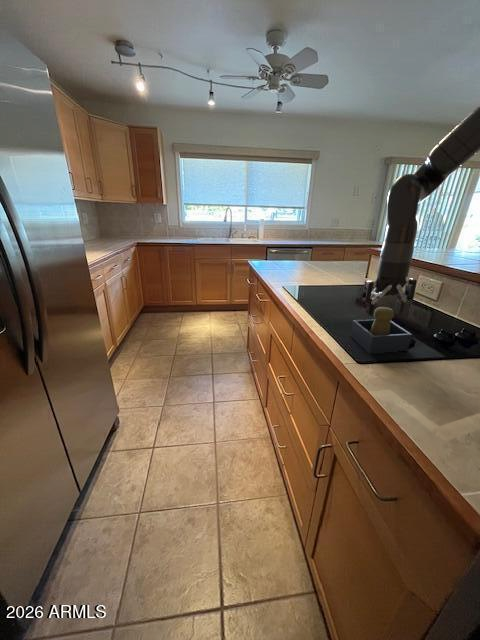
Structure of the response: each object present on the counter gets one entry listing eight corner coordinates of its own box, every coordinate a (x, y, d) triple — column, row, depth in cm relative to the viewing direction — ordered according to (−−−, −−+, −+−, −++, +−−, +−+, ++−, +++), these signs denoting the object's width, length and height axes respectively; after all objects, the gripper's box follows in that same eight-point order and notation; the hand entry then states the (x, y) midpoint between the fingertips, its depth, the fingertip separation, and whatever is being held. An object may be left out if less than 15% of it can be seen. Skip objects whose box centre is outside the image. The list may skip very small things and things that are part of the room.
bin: (383, 333, 86) (387, 318, 84) (407, 351, 76) (412, 334, 73) (350, 336, 85) (352, 320, 83) (369, 354, 75) (373, 337, 73)
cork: (362, 339, 82) (368, 306, 78) (378, 336, 84) (385, 303, 79) (377, 348, 77) (384, 313, 72) (393, 344, 78) (401, 310, 74)
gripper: (377, 262, 66) (367, 320, 73) (430, 260, 67) (415, 317, 74) (362, 257, 73) (354, 311, 80) (410, 255, 74) (398, 308, 81)
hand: (383, 314), depth 77 cm, fingers open, 8 cm apart
